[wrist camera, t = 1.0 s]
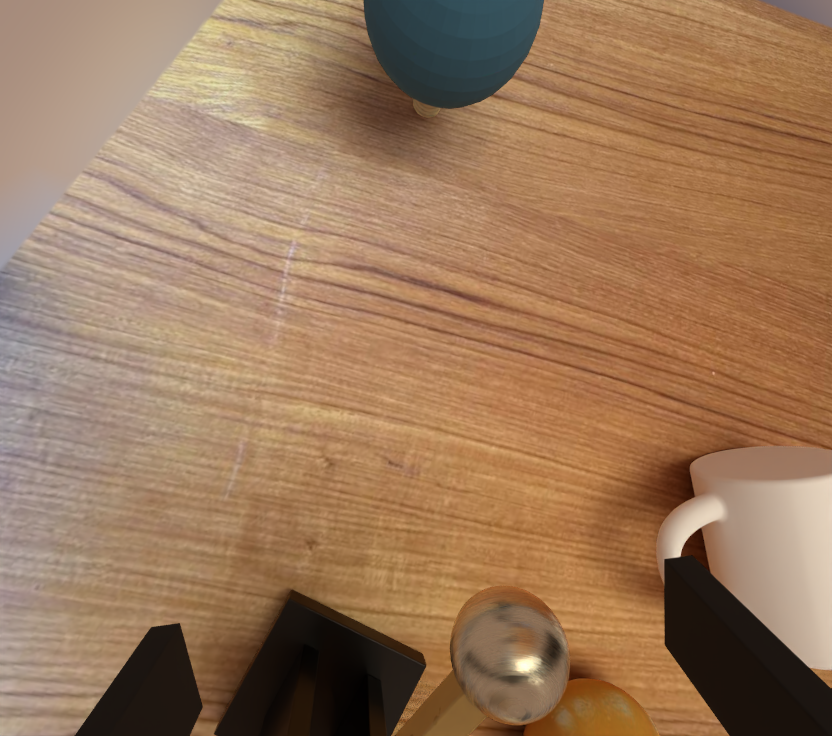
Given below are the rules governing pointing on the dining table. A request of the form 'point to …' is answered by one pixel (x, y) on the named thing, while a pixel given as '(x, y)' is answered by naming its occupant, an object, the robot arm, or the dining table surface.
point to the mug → (766, 538)
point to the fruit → (594, 713)
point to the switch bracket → (322, 678)
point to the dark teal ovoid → (451, 46)
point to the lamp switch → (497, 666)
